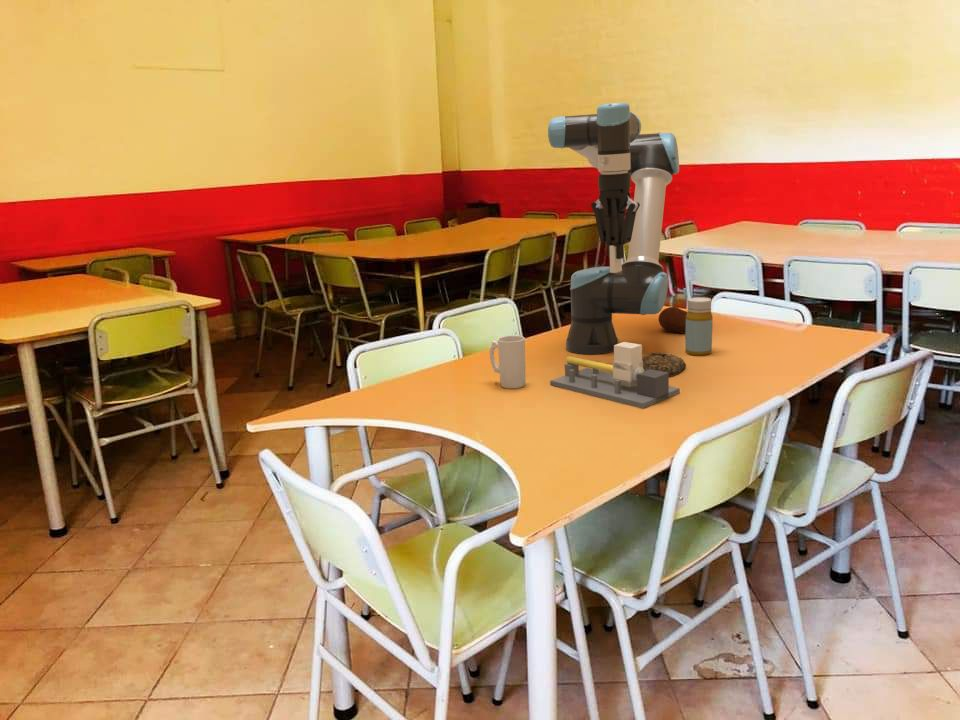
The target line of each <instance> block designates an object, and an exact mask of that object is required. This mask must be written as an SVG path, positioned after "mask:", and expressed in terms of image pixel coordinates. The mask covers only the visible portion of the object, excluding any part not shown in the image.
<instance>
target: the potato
mask: <svg viewBox="0 0 960 720" xmlns="http://www.w3.org/2000/svg"><path fill="white" fill-rule="evenodd" d="M687 312H688V311H685V310H683V309H681V308H679V307H677V306H670V307H667V308H664V309H662V310H661V311H660V312H659V315H658V323H659V325H660V326H661V328H662V329H664V330H666V331H669V332H672V333H676V332H678V334H686V315H687Z"/></svg>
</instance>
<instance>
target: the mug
mask: <svg viewBox="0 0 960 720" xmlns="http://www.w3.org/2000/svg"><path fill="white" fill-rule="evenodd" d="M525 342H526V338H525V337H524V336H522V335H505V336H500V337H498V338H497V339H496V340H492V341H491V345H490V349H489V360H490V363H491V366H492V369H493V372H494V373H499V381H500V386H501V387H502V388H503V389H510V390H511V389H512V390H513V389H520V388H523V387H525V386H526V383H527V382H526V379H527V378H526V343H525ZM496 348H497V354H498V355H497V356H498V364H497V362H496V360H495V359H496V358H495V354H494V353H495V350H496Z"/></svg>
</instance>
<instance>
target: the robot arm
mask: <svg viewBox="0 0 960 720" xmlns="http://www.w3.org/2000/svg"><path fill="white" fill-rule="evenodd" d="M547 128H548V129H547V136H548V137H547V138H548V142H549V144H550V146H551V147H552V148H554V149H566V148H567V149H571V150H572V151H574V152H576V153H577V154H579V155H581V156H583V158H585V159H587V161H588V163H589V164H590V165H591V166H592V167H593V168H594V169H597V171H598V172H599V174H598V176H597V182H598V184H597V187H598V190H599V194H598V199H597V200H596V201H593V202H591V203H590V208H591V209H592V211H593V212H594V217H595V222H596V227H597V231H598V236H599V237H598V238H599V241H600V242H601V243H605V244H606V247H607V257H608V259H609V266H606V265H605V266H594V267H589V268H585V269H581V270H577V271H575V272H573V274H572V275H571V277H570V287H569V290H570V310H571V311H570V313H571V318H570V319H571V322H570V326H569V330H568V333H567V338H566V340H565V345H566V346H565V348H566V350H567V351H568V352H570V353H574V354H581V355H582V354H583V355H599V354H600V355H601V354H607V353H612V352H614V345H616V344H619V339H618V337H617V332H616V330H615V325H614V323H613V314H618V315H621V314H623V315H624V314H625V315H641V316H645V315H657V314H660V313H661V312H662V310H663V307H664V305H665V303H666V300H667V296H668V295H667V294H668V290H669V289H668V288H669V287H668V284H669V276H668V274H667V273H666V272H664V267H663V265H662V264H661V263H660V262H659V258H660V250H661V249H660V248H661V239H662V229H663V220H664V218H663V217H664V210H665V209H664V207H665V201H666V200H665V198H666V188H667V186H668V185H669V184H670V183H671V182H672V181H673V175H677V174H679V172H680V159H679V147H678V143H677V138H676V136H675V135H674V133H672V132H655V133H641V131H642V123H641V119H640V118H639V117H638V115H636V114H635V113H634V112H632V111H631V110H630V104H629V103H628V102H615V103H605V104H600V105H598V106H597V109H596V113H593V114H592V113H591V114H581V115H562V116H557V117H556V116H555V117H553V118H552V117H551V119H550V121H549V123H548V127H547ZM631 181H632V183H634V184H635V188H634V189H635V190H634V196H633V197H634V198H633V199H632V195H631V193H630V190H631V189H630V188H631V185H632V184H631ZM626 244H628V250H627V251H628V253H627V260H625V261H623V260H622V259H624V256H625V249H624V248H625V245H626ZM622 261H623V263H622Z"/></svg>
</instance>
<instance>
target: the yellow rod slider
mask: <svg viewBox="0 0 960 720" xmlns="http://www.w3.org/2000/svg"><path fill="white" fill-rule="evenodd" d="M565 360H566V361H565V362H566V363H565V364H564V375H562V376H559V377H557V378H553V379H551V380H550V381H549V382H550V383H549V384H550V386H552V387H556V388H560V389H564V390H569V391H573V392H575V393H580V394H583V395H588V396H592V397H595V398H600V399H603V400H608V401H612V402H617V403H620V404H624V405H628V406H632V407H637V408H640V409H643V410H644V409H645V408H647V407H650V406H652V405H655V404H658V403H660V402H662V401H664V400H667V399H670V398H671V397H674V396H676V395H679V394H680V393H681V392H680V391H681V389H680V387H675V386H671V385H669V382H670V379H669V373H667V372H662V371H657V370H652V369H649V370H647V371H644V369H643V368H641V367H636V368H635V369H634V370H633V373H632V378H633V380H634V381H636V382H637V385H635V386H633V387H627V386H622V385H621V380H615V384H614V383H613V364H608V363H603V362H599V361H594V360H590V359H585V358H580V357H575V356H570V355H568V356H567V357H566V359H565ZM580 367H584V368H582V369H579V368H580Z"/></svg>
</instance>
